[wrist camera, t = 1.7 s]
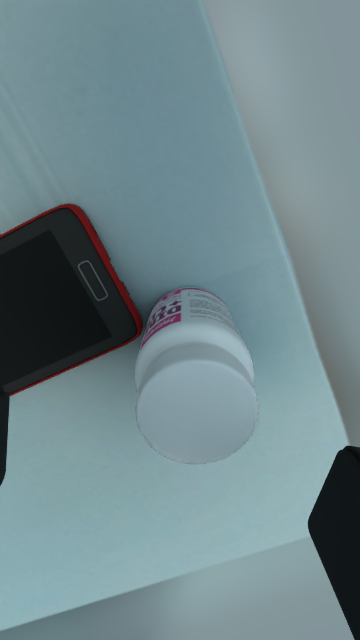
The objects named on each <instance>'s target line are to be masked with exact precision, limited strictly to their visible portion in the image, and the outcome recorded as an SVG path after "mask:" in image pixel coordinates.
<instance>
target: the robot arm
mask: <svg viewBox="0 0 360 640" xmlns="http://www.w3.org/2000/svg"><path fill="white" fill-rule="evenodd" d="M8 417H9V393H8V392H5V391H4V388H3V386H2V385H0V486H1V484H2V482H3V479H4V476H5V472H6V456H7V436H8ZM308 529H309V533H310V535H311V538H312V540H313V542H314V545H315V547H316V549H317V552H318V554H319V557H320V559H321V561H322V563H323V566H324V568H325V571H326V573H327V575H328V578H329V580H330V582H331V585H332V587H333V590H334V592H335V594H336V597H337V599H338V601H339V604H340V606H341V608H342V611H343V613H344V616H345V618H346V620H347V623H348V625H349V627H350V630H351V632H352V634H353V637H354V639H355V640H360V448H359V447H354V446H346V447H345V448H344V449H343V450H340V451H339V452H338V453H337V455H336V457H335V460H334V462H333V464H332V467H331V469H330V471H329V473H328V476H327V478H326V480H325V482H324V485H323V487H322V489H321V491H320V494H319V496H318V498H317V501H316V503H315V505H314V507H313V510H312V512H311V514H310V516H309V519H308Z"/></svg>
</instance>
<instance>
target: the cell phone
mask: <svg viewBox="0 0 360 640" xmlns="http://www.w3.org/2000/svg"><path fill="white" fill-rule="evenodd" d="M110 260H111V259H110V257H109V255H108V253H107V251H106V249H105V248H104V246H103V244H102V242H101V240H100V238H99V236H98V235H97V233H96V231H95V229H94V227H93V225H92V223H91V222H90V220H89V218H88V217H87V215H86V214H85V213H84V211H83V210H82V209H81V208H80V207H79V206H77V205H75V204H64V205H60V206H57V207H55V208H53V209H50V210H48V211H46V212H44V213H42V214H40V215H38V216H36V217H34V218H32V219H30V220H28V221H27V222H25V223H23V224H21V225H19V226H17V227H15V228H13V229H11V230H9V231H8V232H6V233H4V234H2V235H0V385H2V386H3V388H4V391H5V392H8V393H9V396H11V395H14V394H16V393H18V392H20V391H23V390H25V389H27V388H29V387H32V386H34V385H36V384H38V383H41V382H43V381H45V380H47V379H50V378H52V377H54V376H56V375H59V374H61V373H63V372H65V371H68V370H70V369H72V368H74V367H77V366H79V365H81V364H83V363H86V362H88V361H90V360H92V359H95V358H97V357H99V356H101V355H104V354H106V353H108V352H110V351H113V350H115V349H117V348H119V347H122V346H124V345H126V344H128V343H130V342H131V341H133V340H135V339H136V338H137V337H138V336H140V334H141V332H142V329H143V322H142V319H141V316H140V314H139V312H138V309H137V308H136V306H135V304H134V302H133V301H132V299H131V298H130V296H129V295H130V294H129V292H128V291H127V289H126V287H125V285H124V283H123V282H121V281H120V279H119V278H118V276H117V274H116V272H115V270H114V268H113V266H112V264H111V263H110Z"/></svg>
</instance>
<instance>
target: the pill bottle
mask: <svg viewBox="0 0 360 640" xmlns="http://www.w3.org/2000/svg"><path fill="white" fill-rule="evenodd" d="M253 384H254V368H253V363H252V359H251V356H250V353H249V351H248V348H247V347H246V345H245V343H244V341H243V338H242V336H241V334H240V332H239V331H238V329H237V326H236V324H235V322H234V320H233V318H232V316H231V314H230V312H229V309H228V308H227V306H226V305H225V304H224V302H223V301H222V300H221V299H220V298H218V297H217V296H216V295H215V294H213V293H211V292H210V291H207V290H205V289H202V288H198V287H184V288H179V289H176V290H173V291H171V292H169V293H167V294H166V295H164V296H163V297H162V298H161V299H160V300H159V301H158V302H157V303H156V305H155V306H154V308H153V309H152V311H151V314H150V316H149V319H148V323H147V326H146V329H145V333H144V336H143V339H142V342H141V346H140V350H139V353H138V357H137V361H136V365H135V385H136V389H137V393H138V398H137V404H136V419H137V424H138V428H139V430H140V432H141V434H142V436H143V438H144V439H145V441H146V442H147V443H148V444H149V445H150V446H151V447H152V448H153V449H154V450H155V451H157V452H158V453H159V454H161V455H163V456H165V457H167V458H169V459H171V460H174V461H177V462H182V463H188V464H204V463H210V462H215V461H218V460H221V459H223V458H226V457H228V456H230V455H231V454H233V453H235V452H236V451H238V450H239V449H240V448H241V447H242V446H243V445H244V444H245V443H246V442H247V441H248V439H249V438H250V436H251V435H252V433H253V432H254V429H255V427H256V424H257V421H258V410H259V407H258V400H257V396H256V393H255V390H254V386H253Z"/></svg>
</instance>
